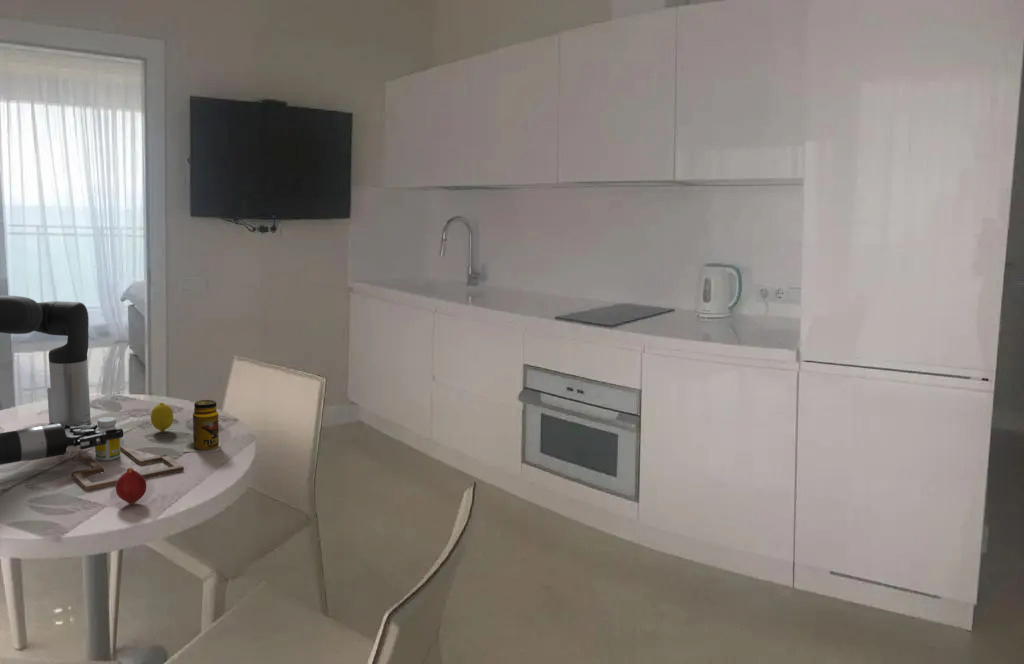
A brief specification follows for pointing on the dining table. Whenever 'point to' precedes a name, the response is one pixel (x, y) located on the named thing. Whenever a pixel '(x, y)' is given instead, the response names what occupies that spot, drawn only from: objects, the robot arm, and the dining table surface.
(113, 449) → the supplement bottle
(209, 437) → the condiment
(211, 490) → the dining table surface
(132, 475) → the onion
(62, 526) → the dining table surface
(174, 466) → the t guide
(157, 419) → the lemon
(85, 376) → the robot arm
